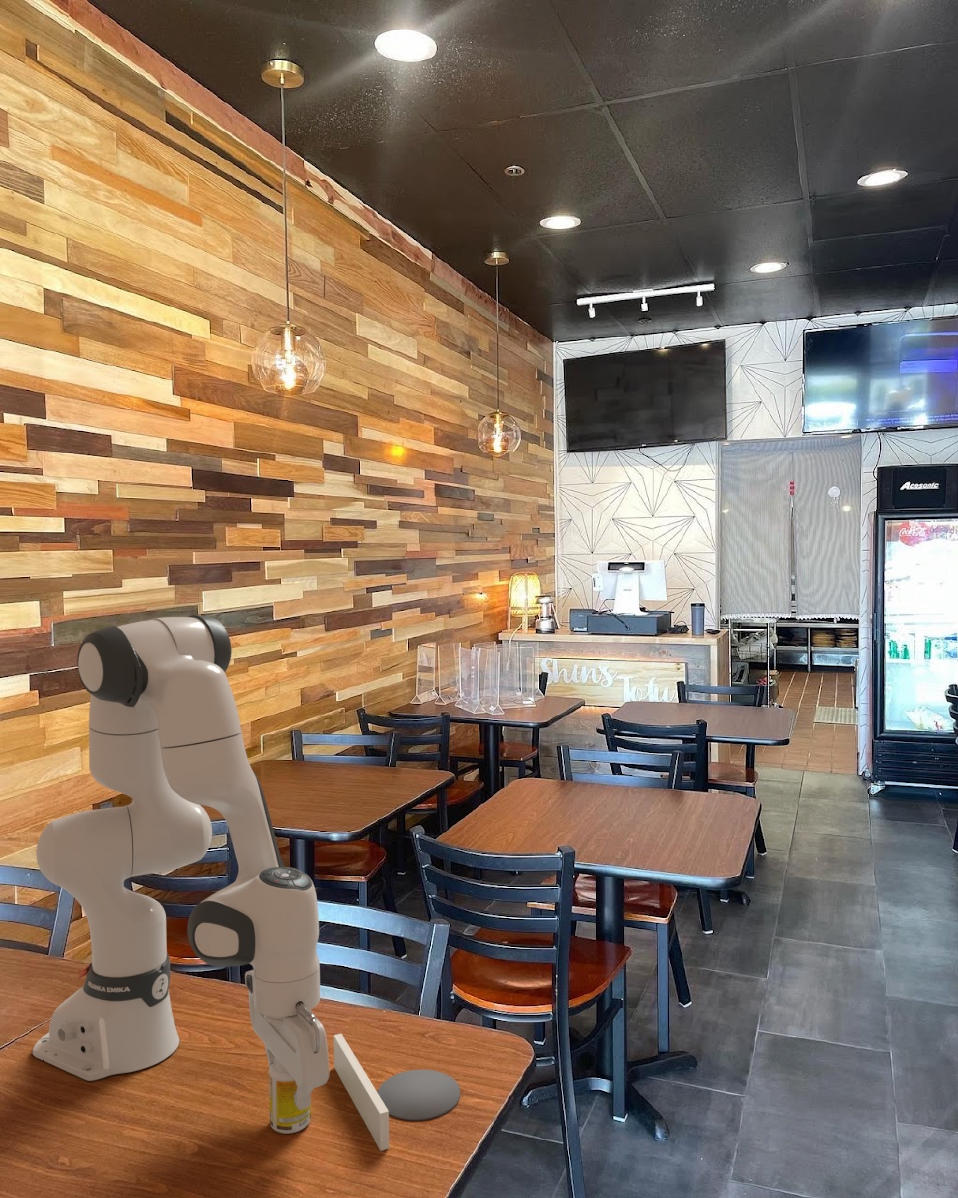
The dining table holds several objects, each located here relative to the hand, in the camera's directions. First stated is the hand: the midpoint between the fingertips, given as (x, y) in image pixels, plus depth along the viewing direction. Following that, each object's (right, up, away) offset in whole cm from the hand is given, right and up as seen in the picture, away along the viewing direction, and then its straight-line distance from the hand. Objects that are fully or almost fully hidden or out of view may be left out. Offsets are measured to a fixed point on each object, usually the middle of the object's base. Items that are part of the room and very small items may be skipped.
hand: (289, 1089), depth 125 cm
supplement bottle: (0, -5, +1) cm, 5 cm away
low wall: (+9, -5, +5) cm, 11 cm away
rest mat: (+17, -5, +7) cm, 19 cm away
